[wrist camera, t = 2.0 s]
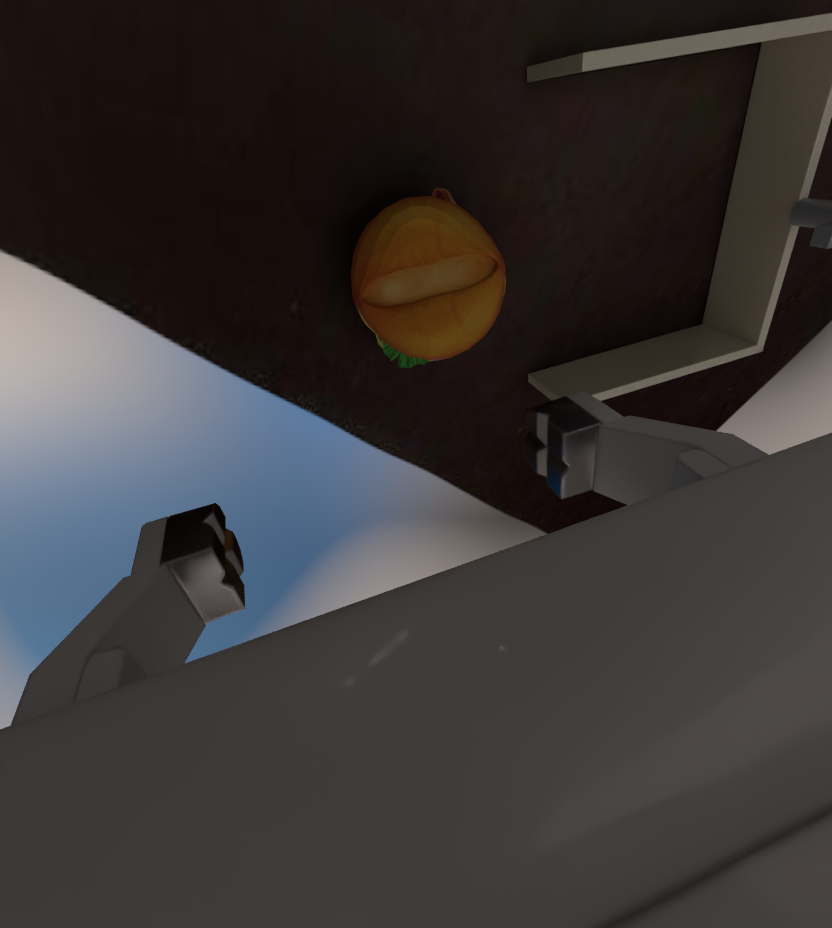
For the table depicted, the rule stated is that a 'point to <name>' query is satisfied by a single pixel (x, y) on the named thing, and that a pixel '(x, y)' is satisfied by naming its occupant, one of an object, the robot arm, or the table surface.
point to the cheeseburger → (427, 279)
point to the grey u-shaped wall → (730, 203)
